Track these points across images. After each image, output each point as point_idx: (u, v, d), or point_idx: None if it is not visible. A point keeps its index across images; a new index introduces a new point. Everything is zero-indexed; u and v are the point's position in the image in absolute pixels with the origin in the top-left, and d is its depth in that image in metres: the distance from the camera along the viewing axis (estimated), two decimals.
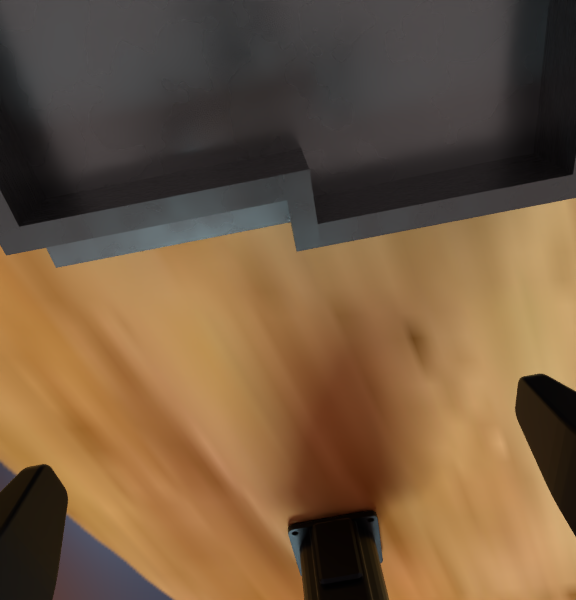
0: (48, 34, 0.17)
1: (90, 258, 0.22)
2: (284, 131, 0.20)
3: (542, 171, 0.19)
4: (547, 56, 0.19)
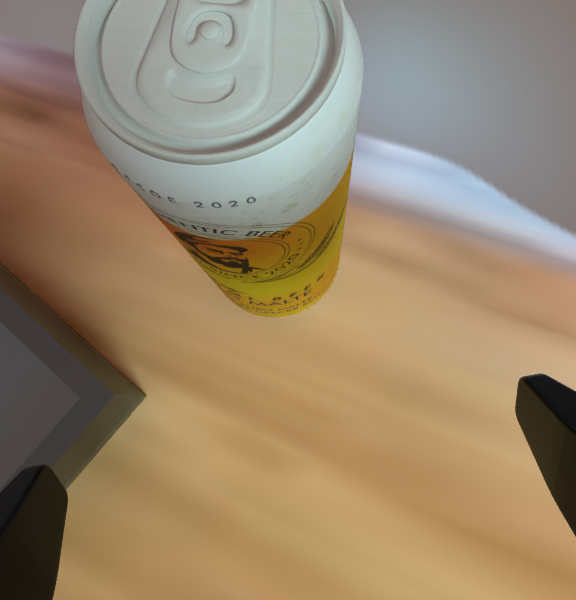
0: None
1: None
2: None
3: None
4: None
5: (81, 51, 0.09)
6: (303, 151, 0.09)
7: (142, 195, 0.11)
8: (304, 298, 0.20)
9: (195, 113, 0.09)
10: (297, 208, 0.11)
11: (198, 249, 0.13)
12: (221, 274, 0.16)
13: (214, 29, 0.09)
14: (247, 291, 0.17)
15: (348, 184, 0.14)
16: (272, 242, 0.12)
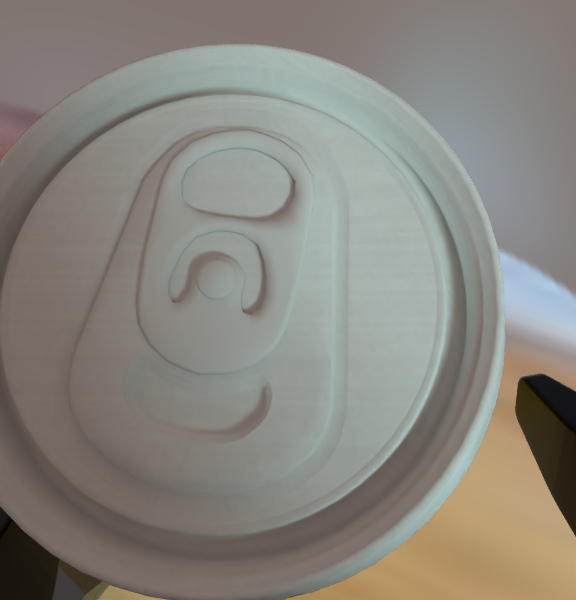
0: None
1: None
2: None
3: None
4: None
5: None
6: (405, 529, 0.05)
7: None
8: None
9: (187, 468, 0.04)
10: None
11: None
12: None
13: (227, 278, 0.05)
14: None
15: None
16: None
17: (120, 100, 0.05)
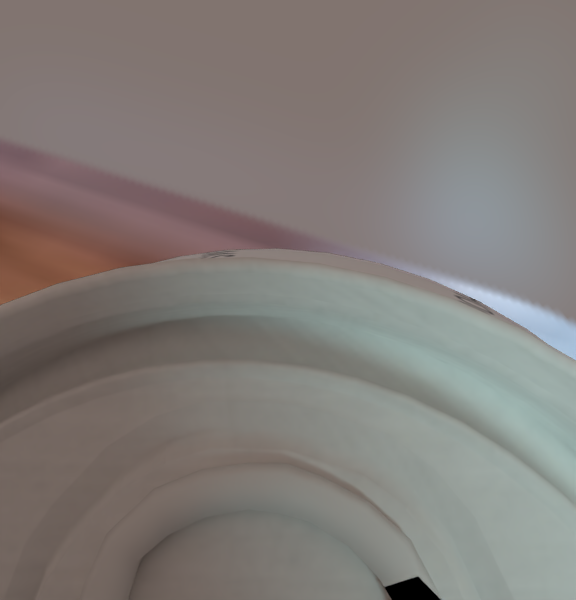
0: None
1: None
2: None
3: None
4: None
5: None
6: None
7: None
8: None
9: None
10: None
11: None
12: None
13: None
14: None
15: None
16: None
17: None
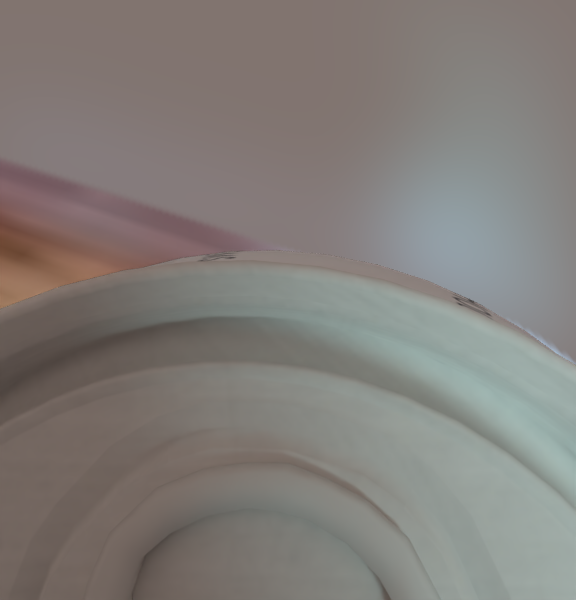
0: None
1: None
2: None
3: None
4: None
5: None
6: None
7: None
8: None
9: None
10: None
11: None
12: None
13: None
14: None
15: None
16: None
17: (3, 365, 0.02)
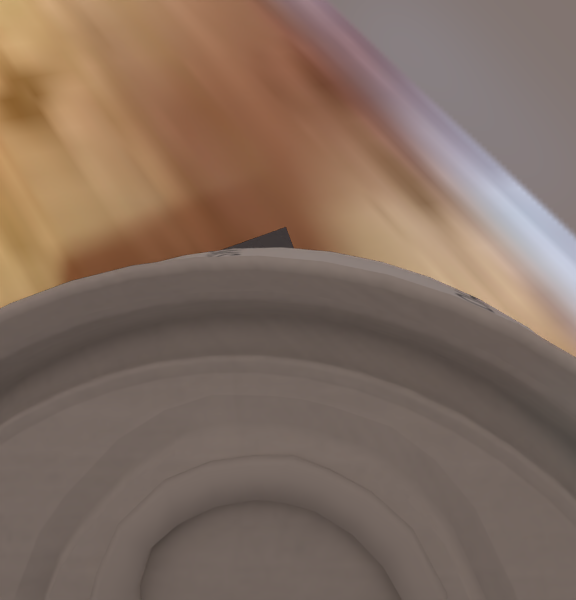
0: None
1: None
2: None
3: None
4: None
5: None
6: None
7: None
8: None
9: None
10: None
11: None
12: None
13: None
14: None
15: None
16: None
17: (11, 360, 0.02)
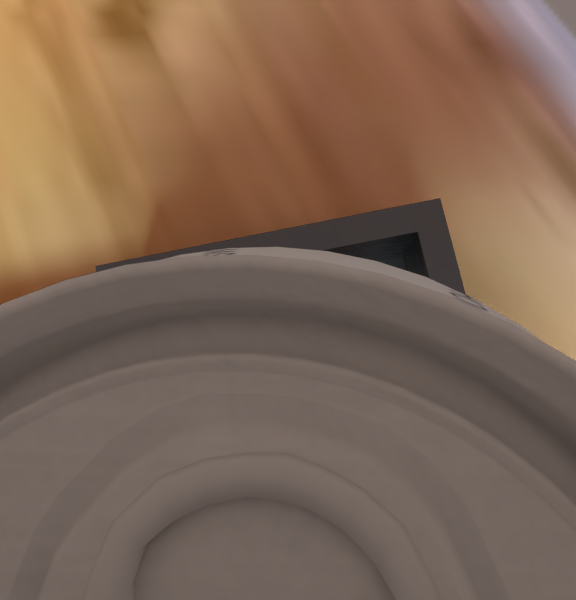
0: None
1: None
2: None
3: None
4: None
5: None
6: None
7: None
8: None
9: None
10: None
11: None
12: None
13: None
14: None
15: None
16: None
17: (7, 360, 0.02)
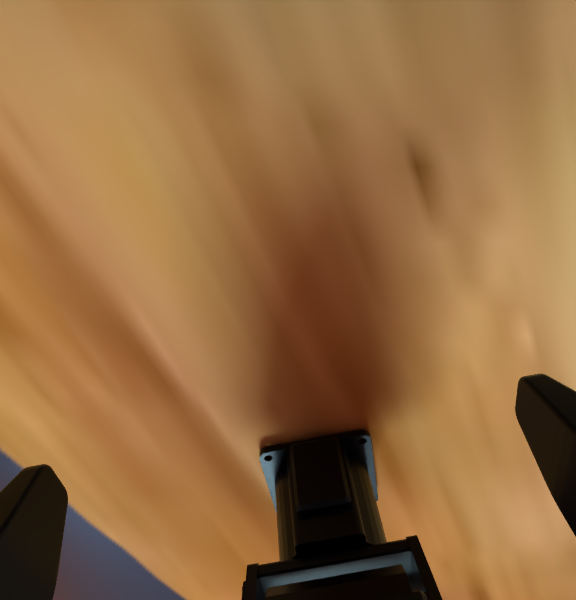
0: None
1: None
2: None
3: None
4: None
5: None
6: None
7: None
8: None
9: None
10: None
11: None
12: None
13: None
14: None
15: None
16: None
17: None
